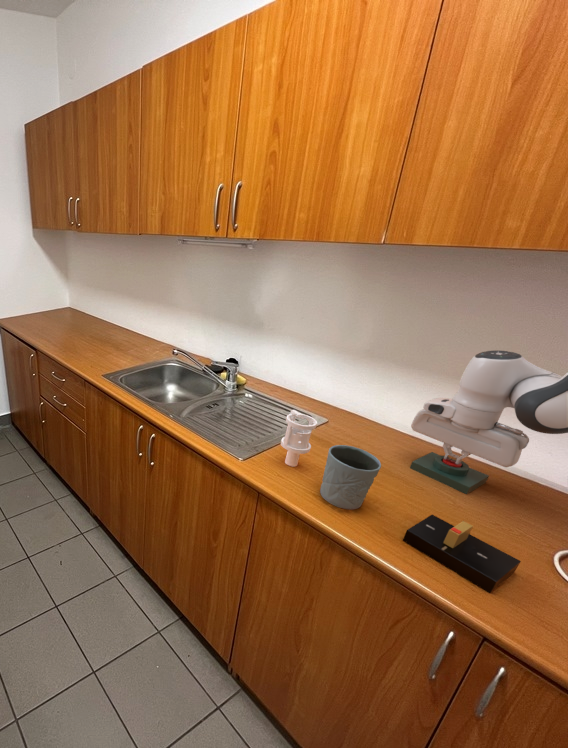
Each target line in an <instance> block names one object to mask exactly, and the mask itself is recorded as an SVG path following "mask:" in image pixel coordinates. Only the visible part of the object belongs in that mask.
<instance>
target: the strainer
mask: <svg viewBox="0 0 568 748" xmlns="http://www.w3.org/2000/svg"><path fill="white" fill-rule="evenodd" d="M296 419H303V420H306V421H308V423H307V424H300V423H299V422H297V421H296ZM285 422H286V424H287V427H286V430H285V435H284V436H283V437H282V438H281V440H280V446H281V447H282V448H283V449H285V450H286V451H287V452H286V456H285V460H284V464H285V465H287V466H289V467H293V468H294V467H297V466H298V463H299V459H300V456H301V455H303V454H304V455H305V454H308V453H310V452H311V448H312V445H311V443H310V440H311V435H312V432H313V430H315V429H316V428H317V425H318V421H317V419H316V418H314V417H313V416H310V415H307V414H304V413H301V412H300V411H298V410H296V409H291V410H290V413H289V414H287V415H286V417H285Z"/></svg>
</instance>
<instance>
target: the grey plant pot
mask: <svg viewBox="0 0 568 748" xmlns="http://www.w3.org/2000/svg"><path fill="white" fill-rule="evenodd" d="M381 468H382V464H381V461H380V459H379V458H377V457H376V455H373V454H372V453H370V452H369V451H367V450H365V449H362V448H359V447H355V446H353V445H345V444H336V445H332V446H331V447H329V449H328V451H327V457H326V464H325V466H324V472H323V476H322V483H321V484H320V489H319V493H320V495H321V498H323V499H324V500H325V501H326V502H327V503H329V504H331V505H332V506H334V507H337V508H340V509H344V510H357V509H359V508H360V507H361V506H362V505H363V502H364V501H365V499H366V497H367V494H368V493H369V490H370V489H371V487H372V485H373V483H374V481H375V478H376V477H377V476H378V475H379V472H380V470H381Z"/></svg>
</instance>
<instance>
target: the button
mask: <svg viewBox="0 0 568 748" xmlns="http://www.w3.org/2000/svg"><path fill="white" fill-rule="evenodd" d="M442 462H443V463H445V464H447V465H449V466H452V467H457V468H461V466H462V464H461V463H460V464H459V465H457V464H455V463H452V462H450V461H448V460H445V459H443V461H442Z"/></svg>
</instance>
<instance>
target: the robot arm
mask: <svg viewBox="0 0 568 748" xmlns="http://www.w3.org/2000/svg"><path fill="white" fill-rule="evenodd" d="M458 386H459V387H458V390H457V392H456V393H455V394H454V395H453V396H452V398H446V397H436V398H433V399H429V400H428V401H426V402H425V403H424V404H423V409H420V410H419V411H418V412H417V413H416V415H415V416H414V418H413V420H412V422H411V425H410V427H411V430H412V431H413V432H416V433H418V434H420V435H423V436H425V437H428V438H431V439H433V440H436V441H438V442H441V443H443V444H442V448H443V449H442V450H443V451H444V454H445V455H444V456H445V457H444V459H445V460H448V461H450V462H452V463H455V464H457V465H459V464H460V463H461V462H462V461H463V459H465V458H467V457H469V456H471V455H473V456H476V457H479V458H480V459H484V460H486V461H488V462H491V463H493V464H497V465H498V466H501V467H504V468H510V467H512V466H513V467H514V466H515V465H516V464H517V463H518V462H519V460H520V457H521V454H522V451H523V450H524V449H526V448H527V446H528V445H529V442H530V437H529V436H528V435H527V434H526V433H525V432H524V431H523V430H521V429H518V428H514V427H512V426H509V425H507V424H503V423H500V422H499V420H500V418H501V416H502V413H503V411H504V409H506V408H510V409H511V408H512V409H514V413H515V417H516V419H517V420H518V422H519V423H520V424H521V425H523V426H524V427H525V428H527V429H529V430H531V431H534V432H536V433H541V434H547V435H562V434H568V371H567V372H566V373H565V374H563V376H562V375H561V374H558V373H556V372H554V371H550V370H548V369H544V368H543V367H539V366H538V365H536V364H534V363H532V362H530V361H529V360H527V359H526V358H525V357H524V356H523V355H521V354H520V353H517V352H513V351H508V350H487V351H481V352H479V353H477V354H475V355H473V357H472V358H471V359H470V360H469V362H468V364H467V365H466V367H465V369H464V371H463V373H462V375H461V377H460V380H459V383H458ZM452 448H455V449H458V450H461V451H460V454H461V455H458V454H455V453H453V450H452Z"/></svg>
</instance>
